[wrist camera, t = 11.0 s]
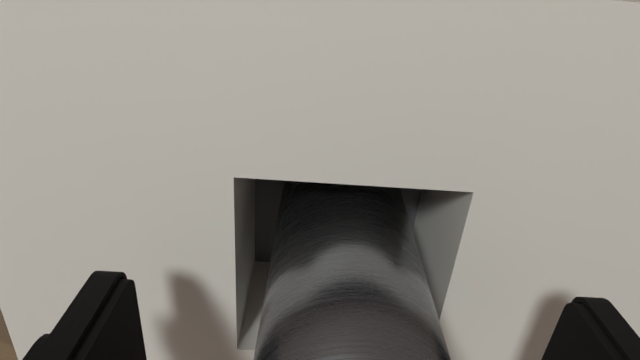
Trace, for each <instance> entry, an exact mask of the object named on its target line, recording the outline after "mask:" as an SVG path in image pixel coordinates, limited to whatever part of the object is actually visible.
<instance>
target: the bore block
mask: <svg viewBox="0 0 640 360" xmlns="http://www.w3.org/2000/svg"><path fill="white" fill-rule="evenodd" d="M286 181H299V182H316V183H332V184H348V185H364V186H380V187H396V188H400V191H401V194H402V198H403V201H404V204H405V208H406V211H407V214H408V218H409V221H410V224H411V228H412V231H413V234H414V238H415V241H416V244H417V248H418V251H419V255H420V258H421V261H422V265H423V268H424V271H425V275H426V278H427V281H428V285H429V288H430V291H431V295H432V298H433V302H434V305H435V308H436V312H437V315H438V318H439V322H440V325H441V328H442V332H443V335H444V338H445V342H446V345H447V349H448V352H449V355H450V359H451V360H541V359H542V357H543V355H544V352H545V350H546V348H547V345H548V343H549V341H550V338H551V336H552V334H553V332H554V329H555V327H556V325H557V322H558V320H559V318H560V315H561V313H562V311H563V309H564V307H565V305H566V304H567V303H571V302H572V300H573V299H574V298H575V297H595V298H605V299H607V300H609V301H610V302H611V303H612V304H613V306H614V307H615V308H616V309H617V310H618V312H619V313H620V314H621V315H622V317H623V318H624V319H625V320H626V321H627V323H628V324H629V325H630V326H631V328H632V329H633V330H634V331H635V332H636V334H637V335H638V336H639V337H640V0H0V308H1V311H2V314H3V317H4V320H5V323H6V325H7V328H8V331H9V334H10V337H11V340H12V343H13V346H14V348H15V351H16V354H17V357H18V360H22V359H23V358H24V356H25V355H26V354H27V352H28V351H29V349H30V348H31V347H32V345H33V344H34V343H35V342H36V341H37V339H38V338H39V337H41V336H42V335H44V334H50V333H51V332H52V330H53V329H54V327H55V326H56V324H57V323H58V321H59V320H60V319H61V317H62V316H63V314H64V313H65V311H66V310H67V308H68V307H69V305H70V304H71V303H72V301H73V300H74V298H75V297H76V295H77V294H78V292H79V291H80V290H81V288H82V287H83V285H84V284H85V282H86V281H87V279H88V278H89V277H90V275H91V274H92V273H93V272H94V271H114V272H124V273H125V274H126V276H127V279H132V280H133V281H134V283H135V287H136V294H137V300H138V307H139V313H140V320H141V326H142V333H143V339H144V345H145V352H146V358H147V360H253V359H254V353H255V347H256V342H257V336H258V330H259V324H260V318H261V313H262V307H263V301H264V295H265V289H266V284H267V278H268V272H269V266H270V260H271V254H272V249H273V243H274V237H275V231H276V225H277V220H278V214H279V208H280V202H281V196H282V191H283V187H284V184H285V182H286Z"/></svg>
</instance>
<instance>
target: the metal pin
mask: <svg viewBox="0 0 640 360" xmlns="http://www.w3.org/2000/svg"><path fill="white" fill-rule="evenodd" d="M253 360H451V359H450V355H449V352H448V349H447V345H446V342H445V338H444V335H443V332H442V328H441V325H440V322H439V318H438V315H437V312H436V308H435V305H434V302H433V298H432V295H431V291H430V288H429V285H428V281H427V278H426V275H425V271H424V268H423V265H422V261H421V258H420V255H419V251H418V248H417V244H416V241H415V238H414V234H413V231H412V228H411V224H410V221H409V218H408V214H407V211H406V208H405V204H404V201H403V198H402V194H401V191H400V188H396V187H380V186H364V185H348V184H332V183H316V182H299V181H286V182H285V184H284V187H283V191H282V196H281V202H280V208H279V214H278V220H277V225H276V231H275V237H274V243H273V249H272V254H271V260H270V266H269V272H268V278H267V284H266V289H265V295H264V301H263V307H262V313H261V318H260V324H259V330H258V336H257V342H256V347H255V353H254V359H253Z"/></svg>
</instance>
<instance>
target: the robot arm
mask: <svg viewBox="0 0 640 360" xmlns="http://www.w3.org/2000/svg"><path fill="white" fill-rule="evenodd" d="M22 360H147V358H146V352H145V345H144V339H143V333H142V326H141V320H140V313H139V307H138V300H137V294H136V287H135V283H134V281H133V280H132V279H127V276H126V274H125V273H124V272H114V271H94V272H93V273H92V274H91V275H90V277H89V278H88V279H87V281H86V282H85V284H84V285H83V287H82V288H81V290H80V291H79V292H78V294H77V295H76V297H75V298H74V300H73V301H72V303H71V304H70V305H69V307H68V308H67V310H66V311H65V313H64V314H63V316H62V317H61V319H60V320H59V321H58V323H57V324H56V326H55V327H54V329H53V330H52V332H51V333H50V334H44V335H42V336H41V337H39V338H38V339H37V341H36V342H35V343H34V344H33V345H32V347H31V348H30V349H29V351H28V352H27V354H26V355H25V356H24V358H23V359H22ZM541 360H640V337H639V336H638V335H637V334H636V332H635V331H634V330H633V329H632V328H631V326H630V325H629V324H628V323H627V321H626V320H625V319H624V318H623V317H622V315H621V314H620V313H619V312H618V310H617V309H616V308H615V307H614V306H613V304H612V303H611V302H610V301H609V300H607V299H605V298H595V297H575V298H574V299H573V300H572V302H571V303H567V304H566V305H565V307H564V309H563V311H562V313H561V315H560V318H559V320H558V322H557V325H556V327H555V329H554V332H553V334H552V336H551V338H550V341H549V343H548V345H547V348H546V350H545V352H544V355H543V357H542V359H541Z"/></svg>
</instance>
